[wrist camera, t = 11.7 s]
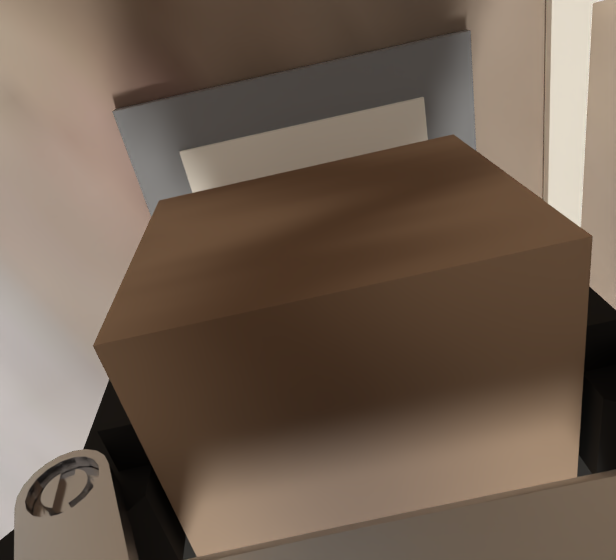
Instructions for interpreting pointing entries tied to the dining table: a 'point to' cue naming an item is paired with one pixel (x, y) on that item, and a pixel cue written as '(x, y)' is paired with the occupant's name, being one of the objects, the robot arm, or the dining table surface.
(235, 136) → the gray bordered square plate
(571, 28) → the frame
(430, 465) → the walnut block
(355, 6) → the dining table surface
